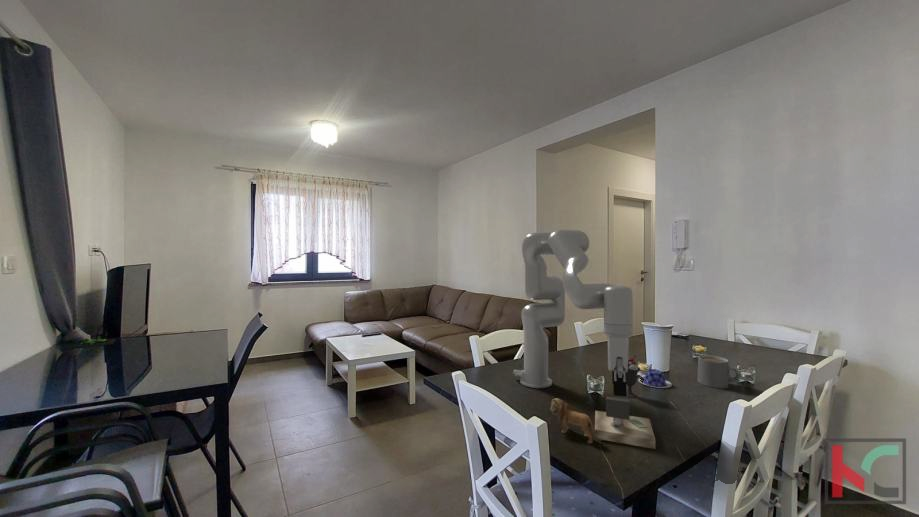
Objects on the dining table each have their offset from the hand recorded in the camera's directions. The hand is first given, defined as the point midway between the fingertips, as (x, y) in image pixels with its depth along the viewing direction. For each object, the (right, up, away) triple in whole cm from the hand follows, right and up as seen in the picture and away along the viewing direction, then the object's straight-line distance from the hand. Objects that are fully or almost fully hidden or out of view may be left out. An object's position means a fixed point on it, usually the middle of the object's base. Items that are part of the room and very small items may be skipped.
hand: (619, 389), depth 102 cm
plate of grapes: (+32, -13, +41) cm, 54 cm away
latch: (+1, -10, +4) cm, 11 cm away
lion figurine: (-13, -13, +1) cm, 19 cm away
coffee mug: (+56, -13, +39) cm, 70 cm away
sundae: (+17, -13, +29) cm, 36 cm away
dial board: (+2, -13, +2) cm, 13 cm away
